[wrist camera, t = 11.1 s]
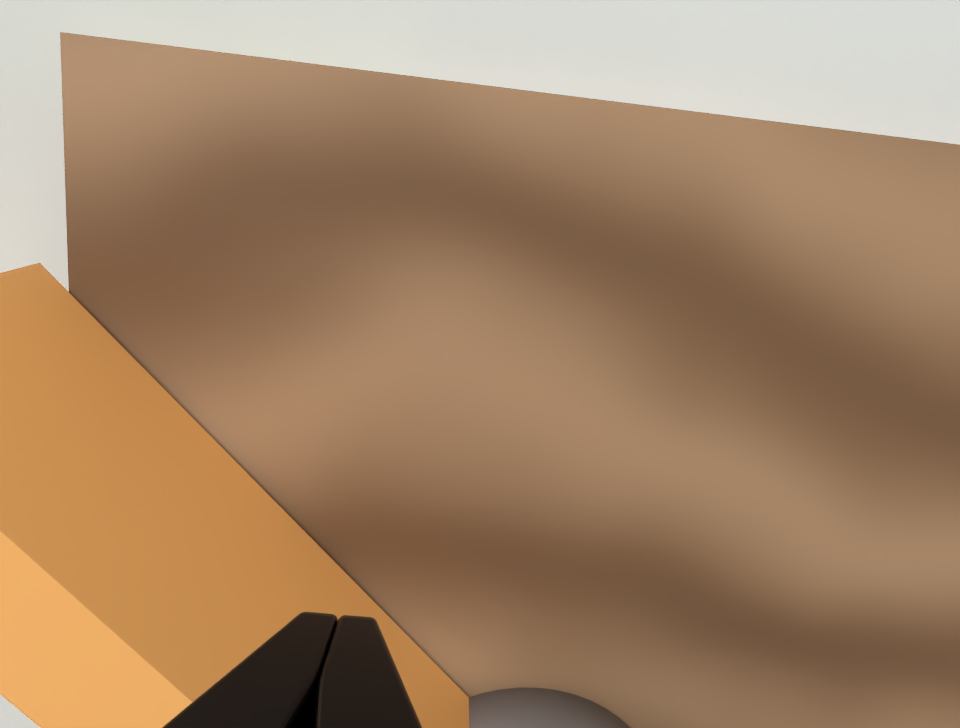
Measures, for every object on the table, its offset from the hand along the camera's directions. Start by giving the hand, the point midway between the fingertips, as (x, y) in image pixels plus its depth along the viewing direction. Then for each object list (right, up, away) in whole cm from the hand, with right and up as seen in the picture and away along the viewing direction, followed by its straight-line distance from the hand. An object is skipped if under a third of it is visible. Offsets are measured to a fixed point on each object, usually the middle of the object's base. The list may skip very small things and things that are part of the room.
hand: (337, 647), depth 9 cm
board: (+3, -2, +11) cm, 11 cm away
